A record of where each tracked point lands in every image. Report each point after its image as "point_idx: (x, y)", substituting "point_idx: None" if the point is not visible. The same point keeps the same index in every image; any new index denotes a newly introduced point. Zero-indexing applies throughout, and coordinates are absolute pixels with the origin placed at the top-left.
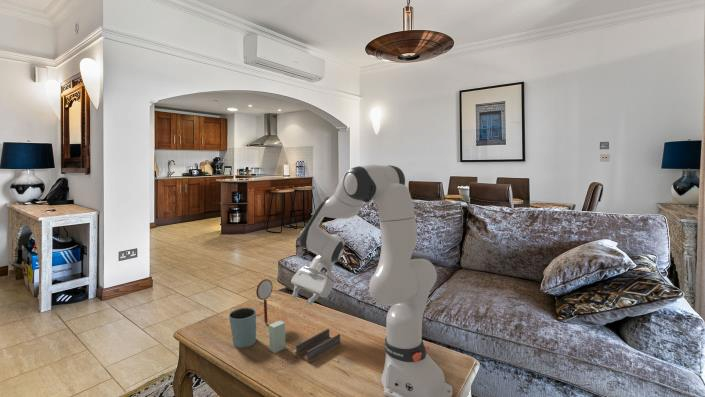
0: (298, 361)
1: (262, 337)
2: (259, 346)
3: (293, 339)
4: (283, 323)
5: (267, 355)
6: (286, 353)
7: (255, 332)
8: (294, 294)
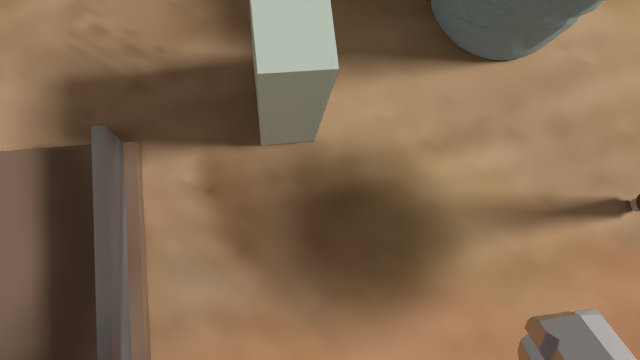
0: (59, 119)
1: (478, 100)
2: (388, 35)
3: (318, 242)
4: (256, 59)
5: None
6: (196, 113)
7: (482, 13)
8: (560, 340)
